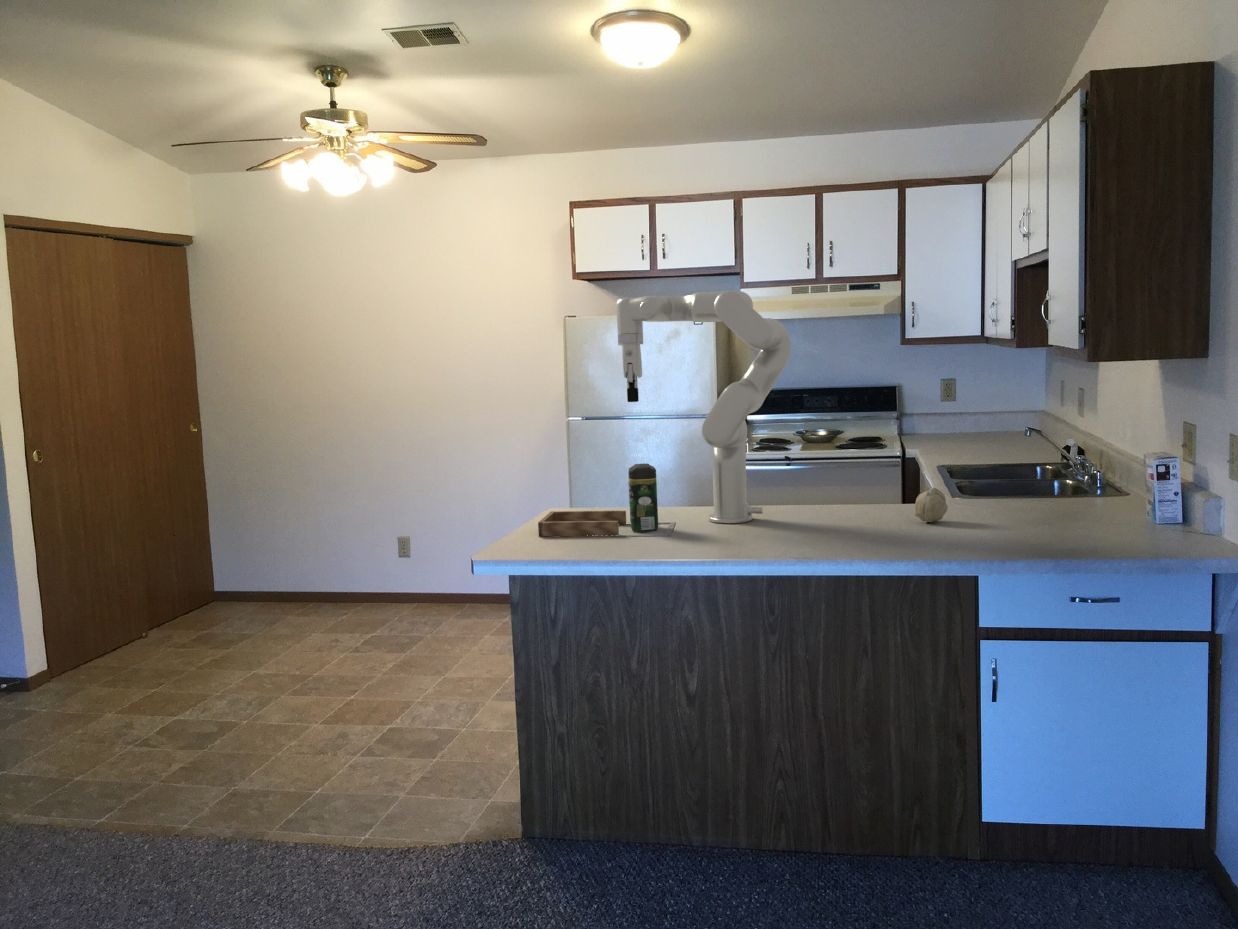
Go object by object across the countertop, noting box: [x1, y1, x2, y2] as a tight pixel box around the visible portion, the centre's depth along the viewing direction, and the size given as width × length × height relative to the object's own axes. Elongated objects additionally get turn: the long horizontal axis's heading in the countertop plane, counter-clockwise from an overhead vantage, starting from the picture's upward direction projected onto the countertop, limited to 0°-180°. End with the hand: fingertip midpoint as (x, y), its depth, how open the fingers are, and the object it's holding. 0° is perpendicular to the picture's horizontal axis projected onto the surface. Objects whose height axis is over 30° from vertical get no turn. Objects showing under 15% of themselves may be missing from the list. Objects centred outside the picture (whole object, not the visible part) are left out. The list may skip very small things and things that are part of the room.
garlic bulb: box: [914, 487, 949, 523], centre depth 266 cm, size 10×8×10 cm
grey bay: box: [617, 521, 677, 537], centre depth 273 cm, size 14×19×1 cm
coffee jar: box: [628, 463, 659, 533], centre depth 272 cm, size 10×8×19 cm
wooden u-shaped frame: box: [537, 509, 627, 537], centre depth 275 cm, size 22×17×4 cm
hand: (633, 401), depth 290 cm, fingers closed
